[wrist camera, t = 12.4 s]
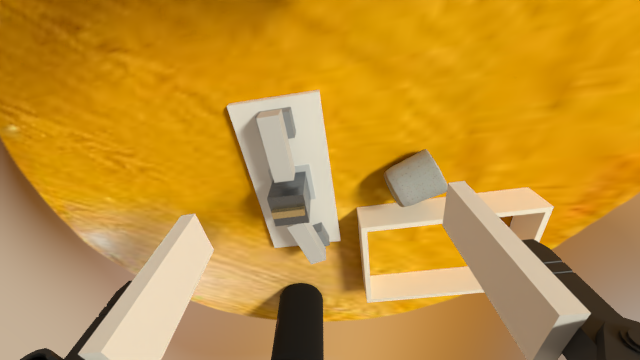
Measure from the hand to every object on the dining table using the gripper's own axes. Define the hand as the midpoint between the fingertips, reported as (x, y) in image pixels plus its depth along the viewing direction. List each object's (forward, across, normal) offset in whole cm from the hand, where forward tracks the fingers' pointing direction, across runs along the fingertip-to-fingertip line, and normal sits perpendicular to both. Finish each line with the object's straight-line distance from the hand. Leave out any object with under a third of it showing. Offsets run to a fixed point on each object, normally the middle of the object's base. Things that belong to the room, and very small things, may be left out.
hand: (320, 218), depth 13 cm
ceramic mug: (+29, +14, -16) cm, 36 cm away
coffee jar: (+29, -12, -48) cm, 57 cm away
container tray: (+29, +20, -33) cm, 48 cm away
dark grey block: (+27, -7, -14) cm, 31 cm away
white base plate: (+29, -7, -14) cm, 33 cm away
